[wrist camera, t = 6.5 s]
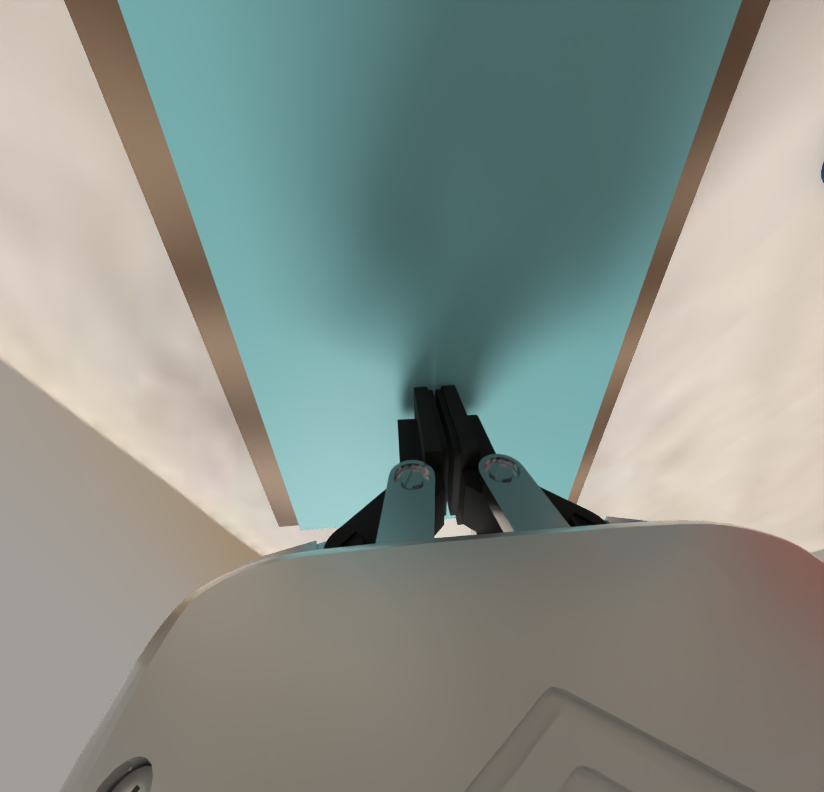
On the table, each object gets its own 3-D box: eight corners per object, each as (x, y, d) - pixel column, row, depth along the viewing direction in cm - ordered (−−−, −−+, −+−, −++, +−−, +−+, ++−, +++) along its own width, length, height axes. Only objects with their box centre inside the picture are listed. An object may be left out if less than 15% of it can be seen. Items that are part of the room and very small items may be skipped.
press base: (-62, -444, 5) (-986, -1794, 2) (857, -387, 6) (1524, -1241, 3) (286, 505, 19) (262, 575, 15) (564, 484, 20) (604, 546, 16)
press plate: (12, -434, 5) (-111, -647, 4) (819, -384, 6) (939, -552, 4) (306, 509, 17) (300, 532, 15) (552, 490, 17) (565, 511, 16)
